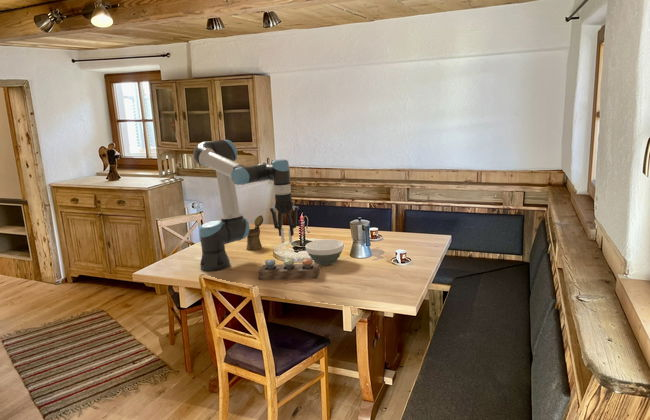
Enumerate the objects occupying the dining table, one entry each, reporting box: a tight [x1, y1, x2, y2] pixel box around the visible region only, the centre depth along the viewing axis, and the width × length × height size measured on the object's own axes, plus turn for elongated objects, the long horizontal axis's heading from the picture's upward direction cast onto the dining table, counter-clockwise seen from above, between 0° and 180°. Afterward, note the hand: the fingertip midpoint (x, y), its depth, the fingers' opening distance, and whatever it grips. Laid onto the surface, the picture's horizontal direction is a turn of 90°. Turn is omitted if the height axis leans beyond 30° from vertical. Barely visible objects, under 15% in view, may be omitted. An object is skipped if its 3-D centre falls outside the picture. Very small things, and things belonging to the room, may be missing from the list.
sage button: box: [283, 258, 295, 269], centre depth 223 cm, size 5×5×4 cm
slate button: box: [264, 259, 276, 270], centre depth 224 cm, size 5×5×4 cm
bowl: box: [305, 238, 345, 267], centre depth 239 cm, size 20×20×10 cm
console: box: [257, 263, 321, 281], centre depth 223 cm, size 28×10×4 cm, turn 83°
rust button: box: [301, 258, 314, 269], centre depth 221 cm, size 5×5×4 cm
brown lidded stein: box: [246, 215, 264, 251], centre depth 274 cm, size 9×14×18 cm, turn 148°
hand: (287, 242), depth 220 cm, fingers open, 3 cm apart
